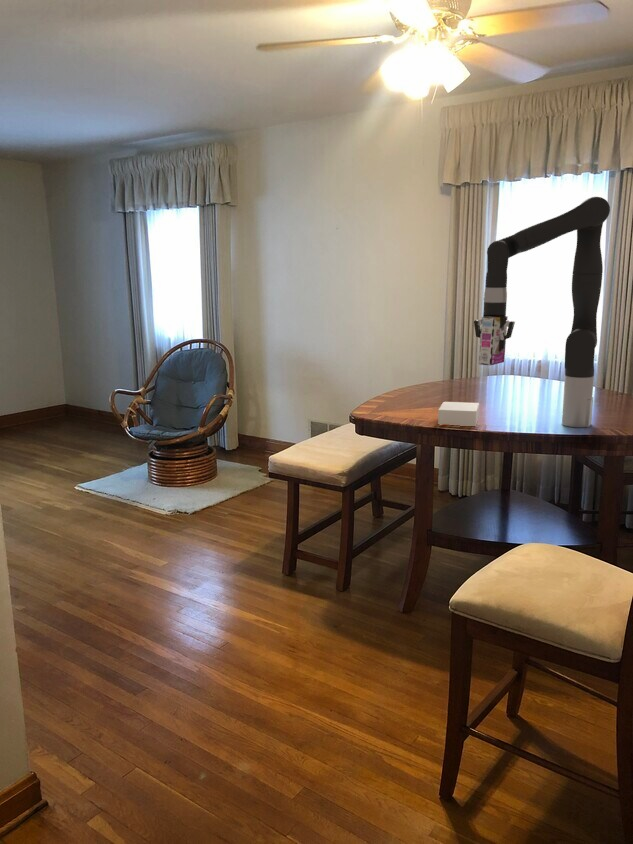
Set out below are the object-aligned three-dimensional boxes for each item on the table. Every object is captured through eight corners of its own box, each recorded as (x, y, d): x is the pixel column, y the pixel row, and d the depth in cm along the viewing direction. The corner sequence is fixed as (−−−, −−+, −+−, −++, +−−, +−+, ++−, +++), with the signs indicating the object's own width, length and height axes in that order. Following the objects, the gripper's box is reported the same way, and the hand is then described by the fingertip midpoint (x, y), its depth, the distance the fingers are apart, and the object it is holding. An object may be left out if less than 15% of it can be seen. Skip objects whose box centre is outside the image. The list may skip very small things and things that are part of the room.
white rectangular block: (478, 418, 242) (479, 403, 241) (475, 428, 228) (476, 411, 227) (443, 417, 246) (443, 401, 245) (438, 426, 232) (438, 409, 231)
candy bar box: (491, 366, 224) (494, 317, 220) (478, 364, 227) (480, 316, 223) (505, 362, 232) (508, 315, 229) (492, 361, 235) (494, 315, 232)
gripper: (519, 300, 224) (516, 350, 228) (477, 300, 232) (475, 348, 235) (513, 301, 218) (510, 352, 222) (471, 301, 225) (469, 350, 229)
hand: (492, 350), depth 229 cm, fingers closed on candy bar box, 5 cm apart
